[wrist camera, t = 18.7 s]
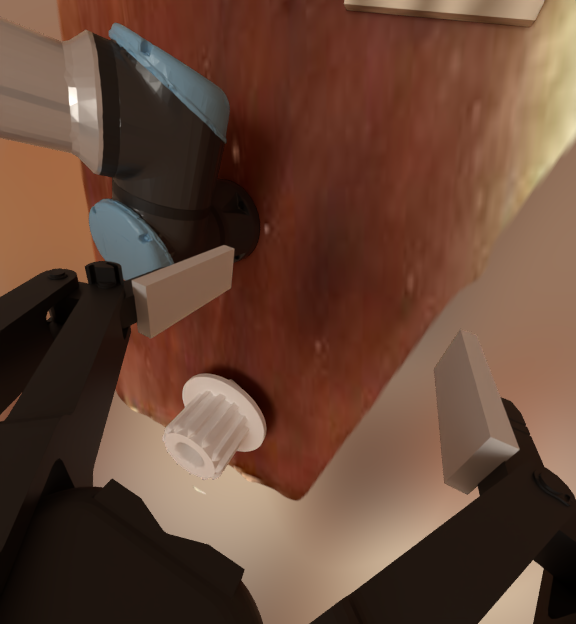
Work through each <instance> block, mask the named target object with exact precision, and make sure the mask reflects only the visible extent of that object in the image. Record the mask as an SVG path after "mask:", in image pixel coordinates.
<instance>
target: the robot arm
mask: <svg viewBox="0 0 576 624" xmlns="http://www.w3.org/2000/svg"><path fill="white" fill-rule="evenodd" d="M109 37H110V38H111V40H108V39H105V38H103V37H101V36H99V35H97V34H94V33H92V32H90V31H88V30H85V31H83V32H82V33H80V34H79V35H77V36H75V37H74V38H72V39H71V40H69V41H63V42H61V41H59V40H56V39H54V38H51V37H49V36H46V35H44V34H41V33H39V32H36V31H34V30H32V29H29V28H27V27H25V26H22V25H20V24H17V23H15V22H12V21H10V20H7V19H5V18H3V17H0V138H3V139H8V140H13V141H17V142H22V143H26V144H31V145H36V146H41V147H45V148H50V149H55V150H60V151H64V152H69V153H72V154H74V155H76V156H77V157H78V158H79V159H80V160H81V161H82V162H83V163H84V164H85V165H86V166H87V167H88V168H89V169H90V170H91V171H92V172H93V173H95V174H98V175H103V176H108V177H112V199H103V200H101V201H100V202H98V203H96V204H95V206H93V207H92V208H91V210H90V214H89V226H90V231H91V234H92V237H93V240H94V242H95V244H96V247H97V249H98V250H99V252H100V254H101V255H102V257H103V258H104V259H105V261H98V262H93V263H90V264H88V265H86V266H85V270H86V274H87V278H88V283H89V284H87V283H83V282H78V278H77V274H76V272H74V271H72V270H68V269H52V270H49V271H45V272H43V273H40V274H39V275H37V276H35V277H34V278H32V279H30V280H29V281H27V282H25V283H24V284H22V285H20V286H18V287H17V288H15V289H13V290H12V291H10V292H8V293H7V294H5V295H3V296H1V297H0V414H1V413H2V412H3V411H4V410H5V409H6V408H7V407H8V406H9V405H10V404H11V403H12V402H13V401H14V400H15V399H16V398H17V397H18V396H19V395H20V394H21V393H22V394H21V396H20V397H19V399H18V401H17V402H16V404H15V406H14V407H13V409H12V410H11V412H10V414H9V415H8V417H7V418H6V419H5V420H4V421H1V422H0V624H263V622H262V619H261V615H260V613H259V611H258V608H257V606H256V603H255V601H254V599H253V598H252V596H251V594H250V592H249V590H248V589H247V588H246V586H245V585H244V584H243V582H242V581H241V579H242V576H243V573H244V569H243V568H242V567H240V566H239V565H237V564H236V563H234V562H233V561H232V560H230V559H229V558H227V557H226V556H224V555H223V554H221V553H220V552H218V551H217V550H215V549H214V548H213V547H211V546H210V545H208V544H204V543H200V542H197V541H193V540H189V539H185V538H181V537H178V536H174V535H170V534H167V533H166V532H164V531H163V530H162V528H161V527H160V526H159V524H158V522H157V521H156V519H155V518H154V517H153V515H152V514H151V512H150V511H149V509H148V508H147V506H146V505H145V504H144V502H143V501H142V499H141V498H140V497H138V496H137V495H135V494H134V493H133V492H131V491H129V490H128V489H127V488H125V487H124V486H122V485H121V484H119V483H118V482H116V481H115V480H114V479H111V480H110V481H109V482H108V483H107V484H106V485H105V486H104V487H103V488H102V487H93V468H94V464H95V460H96V457H97V453H98V450H99V446H100V442H101V439H102V435H103V431H104V428H105V424H106V420H107V417H108V413H109V410H110V406H111V403H112V399H113V395H114V392H115V388H116V384H117V381H118V377H119V374H120V370H121V366H122V363H123V359H124V356H125V352H126V348H127V345H128V341H129V337H130V334H131V328H130V325H132V324H134V323H136V322H137V326H138V332H139V333H141V334H143V335H145V336H147V337H149V338H153V337H154V336H156V335H157V334H159V333H160V332H162V331H164V330H165V329H167V328H168V327H170V326H172V325H173V324H175V323H176V322H178V321H179V320H181V319H183V318H184V317H186V316H187V315H189V314H191V313H192V312H194V311H195V310H197V309H199V308H200V307H202V306H203V305H205V304H206V303H208V302H210V301H211V300H213V299H214V298H216V297H218V296H219V295H221V294H222V293H224V292H226V291H227V290H229V289H230V288H231V283H232V272H233V263H234V262H237V261H240V260H242V259H244V258H245V257H247V256H248V255H249V254H251V252H252V251H253V250H254V248H255V247H256V245H257V242H258V239H259V234H260V221H259V216H258V212H257V209H256V207H255V205H254V203H253V201H252V199H251V198H250V196H249V195H248V194H247V192H246V191H245V190H244V189H243V188H241V187H240V186H239V185H237V184H236V183H234V182H231V181H229V180H224V179H217V177H218V172H219V168H220V163H221V158H222V154H223V149H224V145H225V144H226V142H227V139H226V131H227V125H228V119H229V113H230V106H229V101H228V98H227V96H226V95H225V93H224V92H223V91H222V90H221V89H220V88H219V87H218V86H216V85H215V84H214V83H212V82H211V81H209V80H208V79H206V78H205V77H203V76H202V75H200V74H199V73H197V72H196V71H194V70H193V69H191V68H190V67H188V66H187V65H185V64H184V63H182V62H181V61H179V60H177V59H176V58H174V57H173V56H171V55H170V54H168V53H166V52H165V51H163V50H162V49H160V48H158V47H157V46H154V45H153V44H152V43H150V42H149V41H147V40H145V39H144V38H142V37H140V36H139V35H138V34H136V33H134V32H133V31H131V30H130V29H128V28H126V27H125V26H123V25H121V24H119V23H114V24H113V25H112V28H111V30H109ZM123 279H124V280H126V281H124V280H123ZM48 311H49V313H50V316H51V317H50V318H49V319H48V320H46V315H47V312H48ZM434 374H435V386H436V397H437V407H438V419H439V430H440V441H441V453H442V463H443V475H444V483H445V484H447V485H449V486H451V487H453V488H455V489H457V490H459V491H461V492H463V493H465V494H469V493H470V492H471V491H473V490H474V489H475V488H476V487H477V486H478V489H479V494H480V496H479V497H478V498H477V499H475V500H474V501H473V502H472V503H470V504H469V505H468V506H466V507H465V508H464V509H462V510H461V511H460V512H458V513H457V514H456V515H454V516H453V517H452V518H450V519H449V520H448V521H446V522H445V523H444V524H443V525H441V526H440V527H439V528H437V529H436V530H434V531H433V532H432V533H431V534H429V535H428V536H427V537H425V538H424V539H423V540H421V541H420V542H419V543H418V544H416V545H415V546H413V547H412V548H411V549H410V550H408V551H407V552H406V553H404V554H403V555H402V556H400V557H399V558H398V559H396V560H395V561H394V562H392V563H391V564H390V565H388V566H387V567H386V568H384V569H383V570H382V571H380V572H379V573H378V574H376V575H375V576H374V577H372V578H371V579H370V580H369V581H367V582H366V583H364V584H363V585H362V586H361V587H359V588H358V589H357V590H355V591H354V592H352V593H351V594H350V595H348V596H346V597H345V598H343V599H342V600H340V601H339V602H338V603H336V604H335V605H334V606H332V607H331V608H330V609H329V610H327V611H326V612H325V613H323V614H322V615H321V616H319V617H318V618H316V619H315V620H314V621H312V622H311V623H310V624H478V623H479V622H480V621H481V619H482V618H483V617H484V616H485V615H486V614H487V612H488V611H489V610H490V609H491V608H492V606H494V604H495V603H496V602H497V601H498V600H499V599H500V597H501V596H502V595H503V594H504V593H505V592H506V591H507V589H508V588H509V587H510V586H511V585H512V584H513V582H514V581H515V580H516V579H517V578H518V577H519V576H520V574H521V573H522V572H523V571H524V570H525V569H526V567H527V566H528V565H529V564H530V563H531V562H532V560H534V561H535V562H537V563H538V564H539V565H540V566H542V567H543V568H544V570H543V575H542V581H541V586H540V591H539V596H538V601H537V606H536V612H535V617H534V622H533V624H576V499H575V497H574V494H573V493H572V492H571V490H570V489H569V487H568V486H567V485H566V484H565V483H564V482H563V481H562V480H561V479H560V478H559V477H558V476H557V475H555V474H554V473H552V472H551V471H550V470H548V469H547V468H545V467H544V465H543V463H542V460H541V458H540V456H539V454H538V451H537V449H536V447H535V444H534V442H533V440H532V437H531V436H530V433H529V430H528V428H527V427H526V423H525V421H524V419H523V417H522V414H521V413H520V411H519V410H518V409H517V408H516V407H515V406H514V404H513V403H512V402H511V401H509V400H506V399H504V398H501V397H500V395H499V393H498V390H497V387H496V385H495V382H494V379H493V377H492V374H491V371H490V368H489V366H488V363H487V360H486V358H485V355H484V352H483V350H482V347H481V344H480V341H479V339H478V336H477V335H476V334H474V333H471V332H468V331H465V330H462V329H460V330H459V332H458V333H457V335H456V336H455V338H454V339H453V341H452V342H451V344H450V346H449V347H448V348H447V350H446V351H445V353H444V354H443V356H442V357H441V359H440V360H439V362H438V363H437V365H436V366H435V368H434Z"/></svg>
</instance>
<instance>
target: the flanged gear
mask: <svg viewBox="0 0 576 624" xmlns="http://www.w3.org/2000/svg"><path fill="white" fill-rule="evenodd" d="M182 396H183V402H184V405H185V408H184V409H183V410H182V411H181V412H180V413H179V414H178V415H177V416H176V417H175V418H174V419H173V420H172V422H171V423H170V424H169V425H168V426H167V427H166V428H165V433H164V435H163V438H162V440H163V442H165V446H166V448H167V452H168V453H169V454H170V455H171V456H172V458H173V459H174V460H175V461H176V462H177V464H179V465H180V466H181V467H182V468H184V469H185V470H186V471H188V472H189V473H190V474H193V475H195V476H197V477H200V478H202V479H203V480H206V479H208V478H212V479H213V480H214V479H217V478H218V477H219V476H220V475H221V474H222V472H223V471H224V469H225V468H226V466H227V465H228V463H229V462H230V460H231V458H232V457H233V455H234V454H235V452H236V451H243V452H246V451H252V450H255V449H257V448H258V447H259V446H260V445H261V444H262V442H263V440H264V438H265V436H266V422H265V419H264V416H263V414H262V412H261V410H260V408H259V407H258V405H257V404H256V402H255V401H254V400H253V399H252V398H251V397H250V396H249V395H248V394H247V393H246V392H245V391H244V390H243V389H242V388H241V387H240V386H239V385H238V384H237V383H235V382H234V381H233V380H232V379H229V380H228V379H226V378H223V377H221V376H218V375H214V374H198V375H195V376H193V377H192V378H191V379H190V380H189V381H188V382H187V383H186V384H185V385H184V388H183V393H182Z"/></svg>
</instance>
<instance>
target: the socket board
mask: <svg viewBox="0 0 576 624" xmlns="http://www.w3.org/2000/svg"><path fill="white" fill-rule="evenodd" d="M544 1H545V0H345V1H344V5H345V7H346V10H351V11H362V12H373V13H383V14H394V15H405V16H416V17H427V18H438V19H449V20H460V21H471V22H481V23H492V24H503V25H514V26H525V27H530V26H531V25H532V24H533V22H534V21H535V19H536V17H537V15H538V13H539V11H540V9H541V7H542V5H543V3H544Z"/></svg>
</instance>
